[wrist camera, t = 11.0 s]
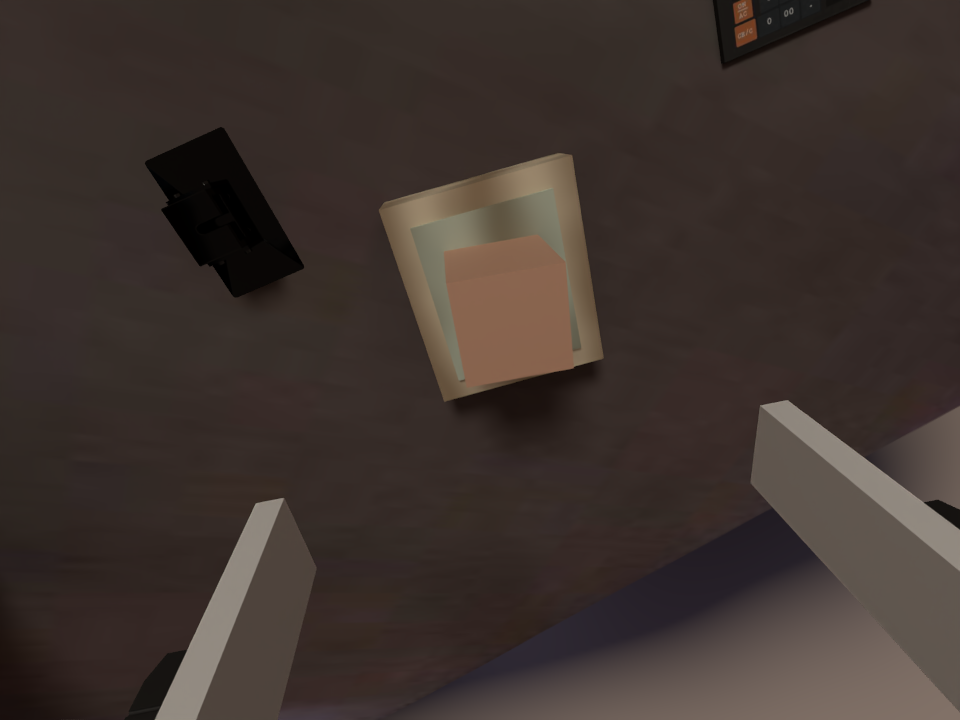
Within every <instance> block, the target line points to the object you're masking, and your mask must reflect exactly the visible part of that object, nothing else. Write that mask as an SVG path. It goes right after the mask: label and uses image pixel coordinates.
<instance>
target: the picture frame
mask: <svg viewBox="0 0 960 720" xmlns="http://www.w3.org/2000/svg"><path fill="white" fill-rule="evenodd" d="M379 212H380V215H381V218H382V221H383V224H384V227H385V230H386V233H387V236H388V239H389V242H390V244H391V247H392V250H393V253H394V256H395V259H396V262H397V265H398V268H399V271H400V274H401V276H402V279H403V282H404V285H405V288H406V291H407V294H408V297H409V300H410V303H411V306H412V308H413V311H414V314H415V317H416V320H417V323H418V326H419V329H420V332H421V335H422V338H423V340H424V343H425V346H426V349H427V352H428V355H429V358H430V361H431V364H432V367H433V370H434V372H435V375H436V378H437V381H438V384H439V387H440V390H441V393H442V396H443V399H444V402H445V401H448V400H452V399H456V398H459V397H463V396H467V395H471V394H474V393H478V392H482V391H485V390H489V389H493V388H496V387H500V386H504V385H507V384H511V383H515V382H519V381H522V380H526V379H530V378H533V377H537V376H541V375H544V374H540V375H534V376H529V377H523V378H518V379H512V380H507V381H501V382H496V383H490V384H485V385H479V386H474V387H468V388H467V387H466V382H465V376H464V371H463V366H462V361H461V356H460V351H459V346H458V341H457V336H456V331H455V326H454V321H453V316H452V311H451V306H450V301H449V296H448V291H447V285H446V275H445V261H444V251H448V250H454V249H459V248H465V247H470V246H476V245H482V244H487V243H493V242H498V241H504V240H509V239H515V238H520V237H526V236H532V235H537V234H538V235H539V236H540V237H541V238H542V239H543V240H544V241H545V242H546V243H547V244H548V245H549V246H550V247H551V248H552V249H553V250H554V251H555V252H556V253H557V254H558V255H559V256H560V257H561V258H562V259H563V260H564V261H565V262H566V273H567V286H568V298H569V311H570V324H571V337H572V350H573V362H574V366H578V365H581V364H585V363H589V362H592V361H596V360H600V359H604V358H603V352H602V345H601V339H600V333H599V326H598V320H597V313H596V307H595V300H594V294H593V288H592V281H591V275H590V268H589V262H588V255H587V249H586V242H585V236H584V230H583V223H582V217H581V210H580V204H579V197H578V191H577V185H576V178H575V172H574V165H573V159H572V155H568V154H562V153H556V154H553V155H549V156H546V157H542V158H539V159H535V160H532V161H528V162H525V163H521V164H518V165H514V166H511V167H507V168H504V169H500V170H497V171H493V172H490V173H486V174H483V175H479V176H476V177H472V178H469V179H465V180H462V181H458V182H455V183H451V184H448V185H444V186H441V187H437V188H434V189H430V190H427V191H423V192H420V193H416V194H413V195H409V196H406V197H402V198H399V199H395V200H392V201H388V202H385V203H384V204H383V205H382V206H381V208H380V209H379ZM551 373H552V372H551ZM545 374H548V373H545Z"/></svg>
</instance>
